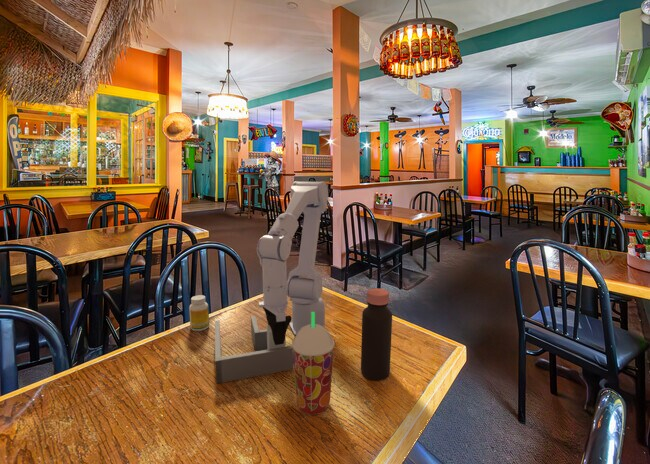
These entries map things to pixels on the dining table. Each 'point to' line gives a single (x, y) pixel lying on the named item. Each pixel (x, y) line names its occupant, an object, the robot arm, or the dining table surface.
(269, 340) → the block
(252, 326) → the rails
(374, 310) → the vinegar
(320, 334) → the smoothie
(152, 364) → the dining table surface
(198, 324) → the supplement bottle
